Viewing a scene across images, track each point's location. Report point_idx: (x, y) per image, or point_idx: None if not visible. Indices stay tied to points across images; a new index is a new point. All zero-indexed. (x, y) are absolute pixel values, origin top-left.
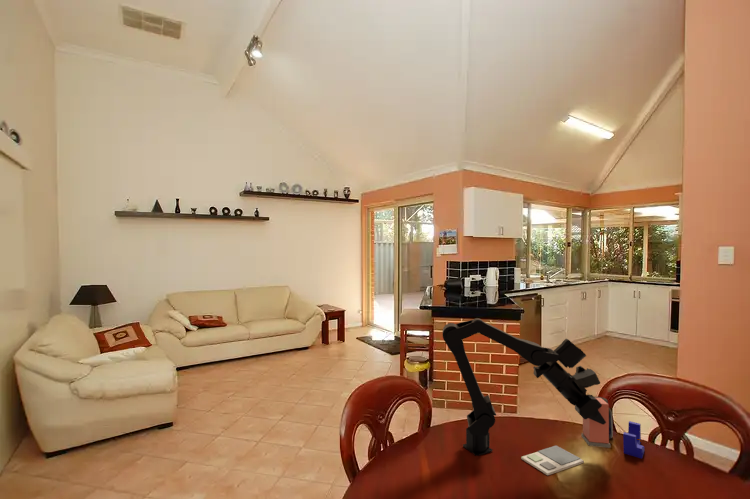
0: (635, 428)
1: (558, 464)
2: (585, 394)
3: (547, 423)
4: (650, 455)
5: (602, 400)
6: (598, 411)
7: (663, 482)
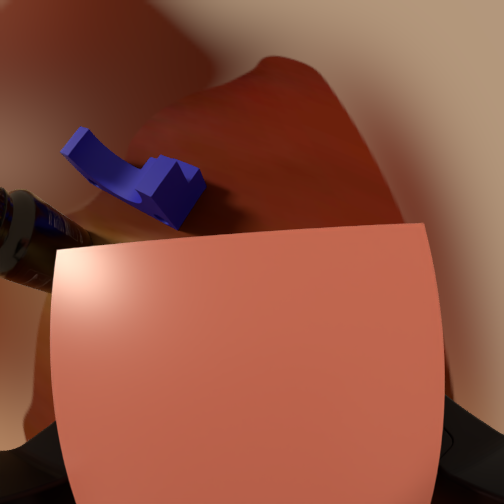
0: (88, 147)
1: None
2: (33, 500)
3: (32, 407)
4: (180, 157)
5: (196, 273)
6: (461, 411)
7: (344, 184)
